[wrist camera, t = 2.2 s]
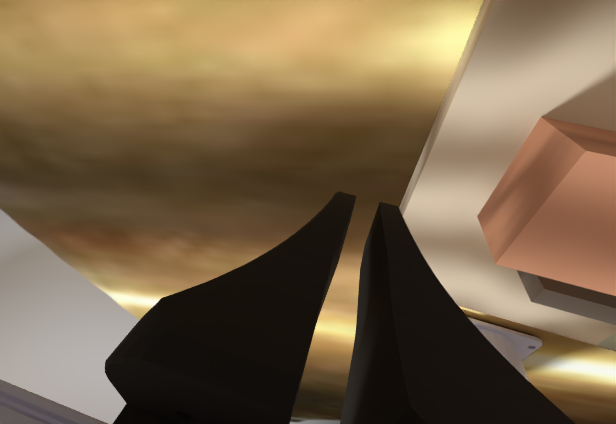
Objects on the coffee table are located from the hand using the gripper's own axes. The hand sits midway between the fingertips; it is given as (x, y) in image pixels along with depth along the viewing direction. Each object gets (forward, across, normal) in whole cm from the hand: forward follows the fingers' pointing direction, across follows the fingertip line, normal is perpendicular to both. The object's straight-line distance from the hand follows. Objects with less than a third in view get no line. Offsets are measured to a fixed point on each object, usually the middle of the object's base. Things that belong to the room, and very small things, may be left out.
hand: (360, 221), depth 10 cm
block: (+7, -10, 0) cm, 12 cm away
